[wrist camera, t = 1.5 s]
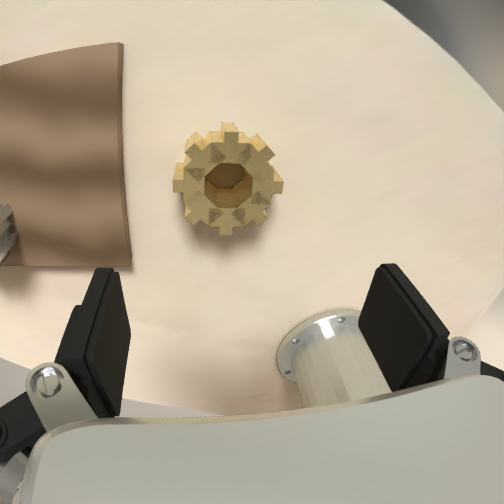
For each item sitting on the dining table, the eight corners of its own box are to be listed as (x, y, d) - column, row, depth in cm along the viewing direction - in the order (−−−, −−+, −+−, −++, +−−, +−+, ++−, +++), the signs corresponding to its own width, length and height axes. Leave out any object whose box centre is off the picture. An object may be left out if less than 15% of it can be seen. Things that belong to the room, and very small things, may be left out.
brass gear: (266, 212, 27) (276, 235, 24) (177, 212, 26) (174, 235, 23) (276, 125, 23) (288, 135, 20) (177, 122, 22) (172, 131, 19)
